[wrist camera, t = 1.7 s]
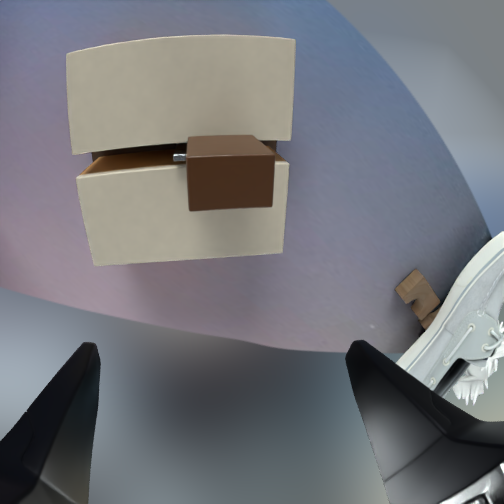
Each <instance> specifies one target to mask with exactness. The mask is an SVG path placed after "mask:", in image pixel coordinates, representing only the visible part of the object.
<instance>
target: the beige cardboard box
mask: <svg viewBox="0 0 504 504" xmlns="http://www.w3.org/2000/svg"><path fill="white" fill-rule="evenodd" d="M295 49H296V40H295V39H288V38H278V37H265V36H248V35H190V36H173V37H161V38H151V39H142V40H134V41H127V42H120V43H114V44H108V45H103V46H98V47H93V48H88V49H83V50H79V51H75V52H71V53H67V55H66V74H67V101H68V116H69V128H70V138H71V147H72V154H73V155H77V154H83V153H90V152H92V159H93V163H92V164H91V165H90V166H89V167H88V168H86V169H85V170H84V171H83V172H82V173H81V174H80V175H79V176H78V177H77V178H76V183H77V189H78V194H79V200H80V205H81V210H82V215H83V220H84V225H85V230H86V234H87V238H88V243H89V247H90V251H91V255H92V259H93V263H94V266H104V265H119V264H133V263H148V262H162V261H177V260H191V259H205V258H219V257H233V256H247V255H261V254H275V253H282V252H283V241H284V230H285V217H286V205H287V192H288V178H289V163H288V162H286V160H284V159H283V158H282V157H281V156H280V155H279V154H277V153H276V142H277V140H283V141H290V140H291V132H292V115H293V95H294V74H295ZM213 135H253V136H255V137H256V138H257V139H258V140H259V141H260V142H262V143H263V144H264V145H265V146H266V147H267V148H268V149H270V150H271V151H272V152H273V153H274V154H275V175H274V193H273V206H272V207H271V208H248V209H228V210H210V211H194V212H190V211H189V209H188V192H187V172H186V160H185V161H173V155H174V151H175V147H176V144H177V143H185V142H187V141H188V137H191V136H213Z"/></svg>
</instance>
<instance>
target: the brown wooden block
mask: <svg viewBox="0 0 504 504" xmlns="http://www.w3.org/2000/svg"><path fill="white" fill-rule="evenodd" d="M185 160H186V172H187V192H188V209H189V211H190V212H194V211H210V210H228V209H248V208H271V207H272V206H273V193H274V175H275V154H274V153H273V152H272V151H271V150H270V149H268V148H267V147H266V146H265V145H264V144H263V143H262V142H260V141H259V140H258V139H257V138H256V137H255V136H253V135H213V136H191V137H188V141H187V142H185V143H177V144H176V147H175V151H174V155H173V161H185Z"/></svg>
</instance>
